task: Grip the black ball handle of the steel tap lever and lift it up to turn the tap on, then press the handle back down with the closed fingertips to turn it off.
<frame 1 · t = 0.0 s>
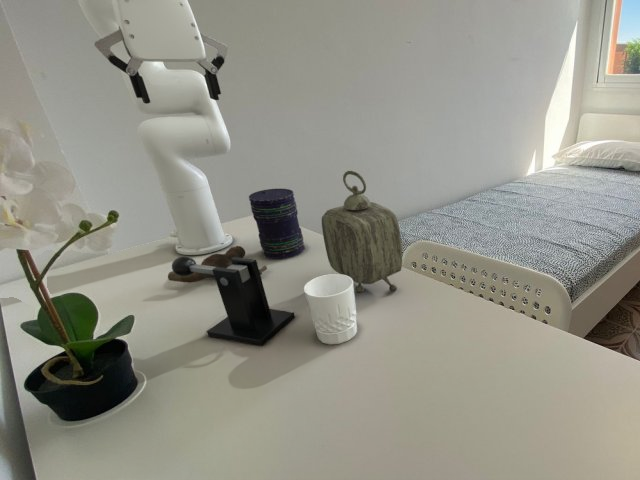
hand: (182, 101, 68), 37 cm above the table, tool pointing down, fingers open, 9 cm apart
tabletop clock: (367, 289, 88), on the table
white cup: (338, 334, 73), on the table
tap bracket: (253, 326, 75), on the table
dark blue cylinder: (284, 252, 104), on the table
tap lever: (209, 269, 71), point 11 cm above the table, hinge at 0.0°
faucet: (232, 275, 93), on the table
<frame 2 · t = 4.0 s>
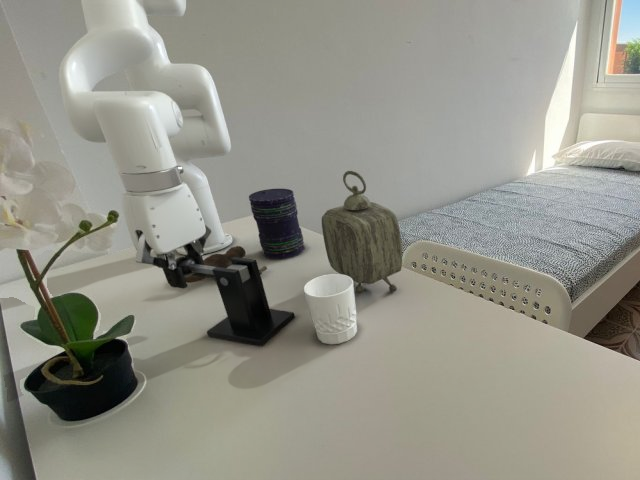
hand: (189, 280, 73), 8 cm above the table, tool pointing down, fingers closed on tap lever, 3 cm apart
tap lever: (209, 269, 71), point 11 cm above the table, hinge at 0.0°, touching gripper
everything else where it was.
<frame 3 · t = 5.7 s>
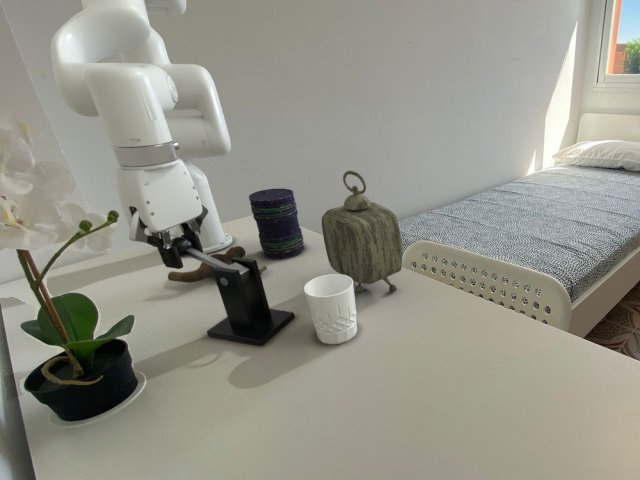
hand: (185, 260, 72), 12 cm above the table, tool pointing down, fingers closed on tap lever, 3 cm apart
tap lever: (207, 260, 70), point 13 cm above the table, hinge at 20.1°, touching gripper
everything else where it was.
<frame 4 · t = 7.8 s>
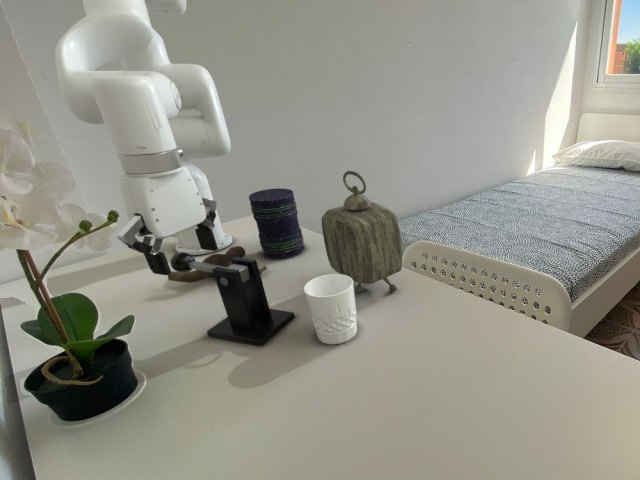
hand: (187, 260, 72), 12 cm above the table, tool pointing down, fingers open, 9 cm apart
tap lever: (208, 267, 71), point 11 cm above the table, hinge at 4.1°
everything else where it was.
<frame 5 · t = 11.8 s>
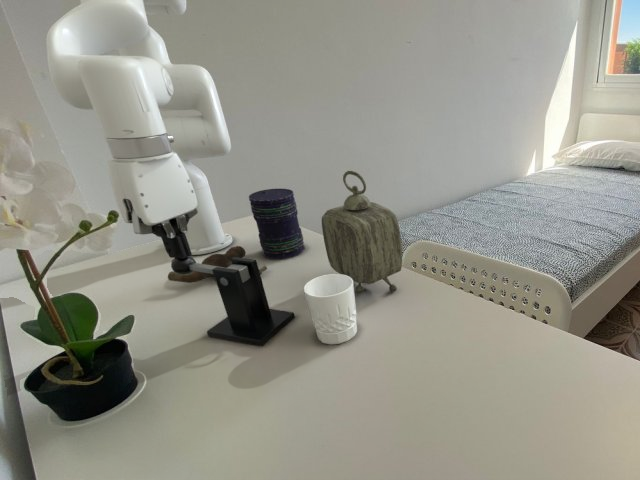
hand: (180, 255, 71), 13 cm above the table, tool pointing down, fingers closed
tap lever: (209, 269, 71), point 11 cm above the table, hinge at 1.6°
everything else where it was.
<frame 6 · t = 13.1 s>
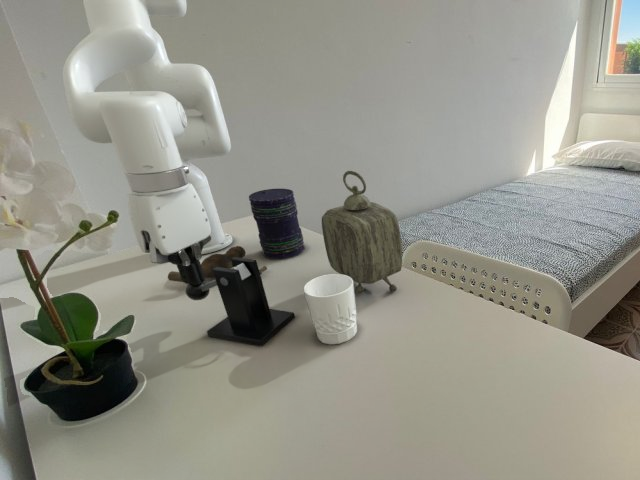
hand: (194, 281, 73), 8 cm above the table, tool pointing down, fingers closed
tap lever: (216, 282, 72), point 9 cm above the table, hinge at -25.3°, touching gripper
everything else where it was.
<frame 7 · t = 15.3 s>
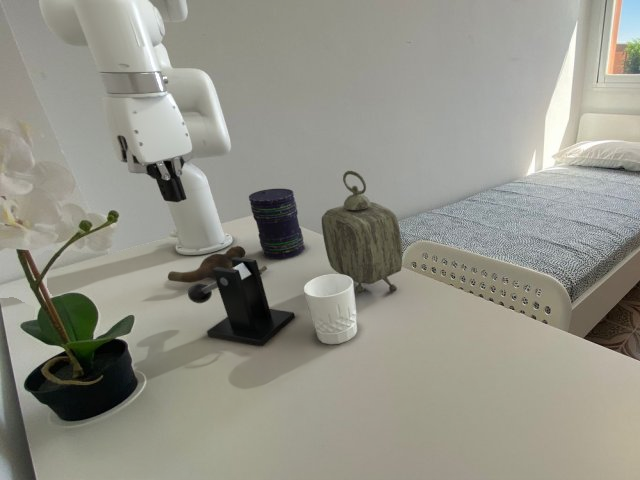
hand: (175, 199, 71), 22 cm above the table, tool pointing down, fingers closed
tap lever: (217, 284, 72), point 8 cm above the table, hinge at -28.6°
everything else where it was.
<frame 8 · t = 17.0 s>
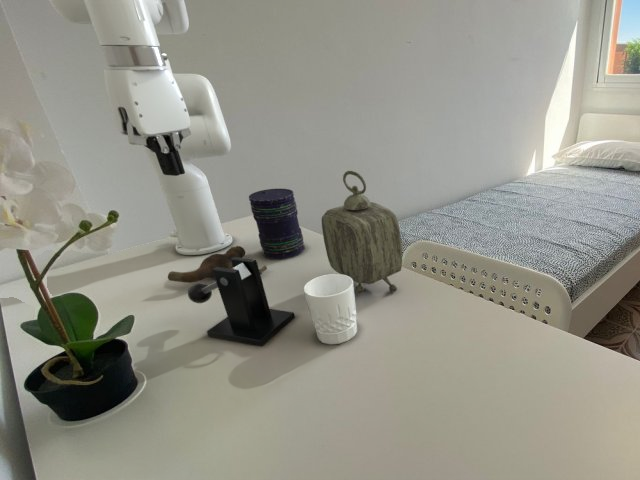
hand: (174, 174, 74), 25 cm above the table, tool pointing down, fingers closed
nothing on the table moved.
at the end: tap lever reached +23° during the clip, -29° at the end; tap lever at -29° (first picture: +0°) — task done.
